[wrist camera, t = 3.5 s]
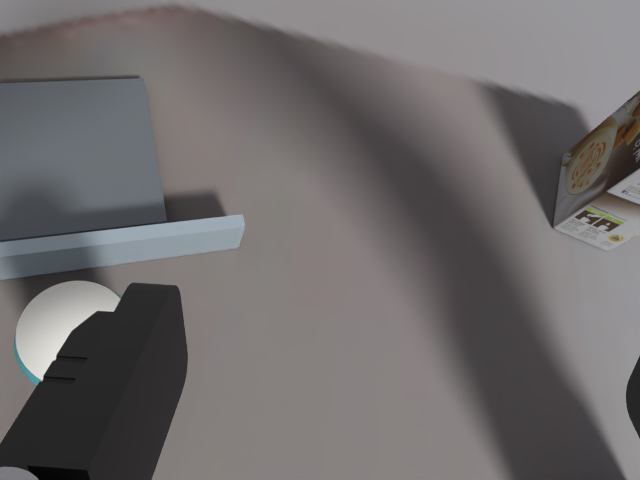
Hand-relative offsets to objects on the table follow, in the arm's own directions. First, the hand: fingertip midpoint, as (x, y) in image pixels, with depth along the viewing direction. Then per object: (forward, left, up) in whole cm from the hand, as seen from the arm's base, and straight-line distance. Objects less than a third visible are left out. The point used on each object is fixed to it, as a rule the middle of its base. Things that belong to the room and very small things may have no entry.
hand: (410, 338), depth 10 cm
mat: (+7, -23, -32) cm, 41 cm away
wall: (+5, -15, -32) cm, 36 cm away
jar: (+7, -6, -32) cm, 34 cm away
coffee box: (-38, -14, -33) cm, 52 cm away
